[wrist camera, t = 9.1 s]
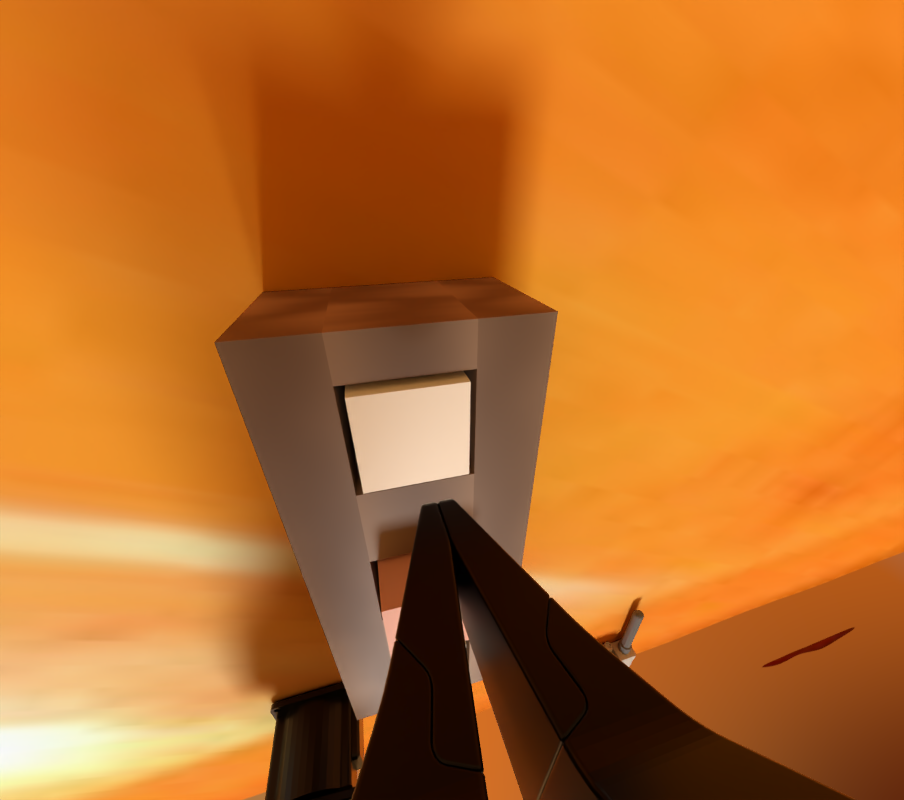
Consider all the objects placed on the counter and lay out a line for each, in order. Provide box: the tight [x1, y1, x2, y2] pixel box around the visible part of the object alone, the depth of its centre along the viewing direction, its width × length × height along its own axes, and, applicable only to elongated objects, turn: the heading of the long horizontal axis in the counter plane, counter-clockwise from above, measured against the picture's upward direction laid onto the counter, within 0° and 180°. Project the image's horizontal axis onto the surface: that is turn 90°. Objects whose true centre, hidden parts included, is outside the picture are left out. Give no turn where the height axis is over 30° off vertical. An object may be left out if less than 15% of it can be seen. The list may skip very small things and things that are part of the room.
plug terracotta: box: [377, 552, 469, 656], centre depth 17 cm, size 4×4×6 cm
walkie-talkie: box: [603, 610, 644, 667], centre depth 41 cm, size 9×4×20 cm
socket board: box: [214, 277, 558, 720], centre depth 19 cm, size 10×25×6 cm, turn 0°
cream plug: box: [345, 371, 471, 494], centre depth 14 cm, size 4×4×6 cm
